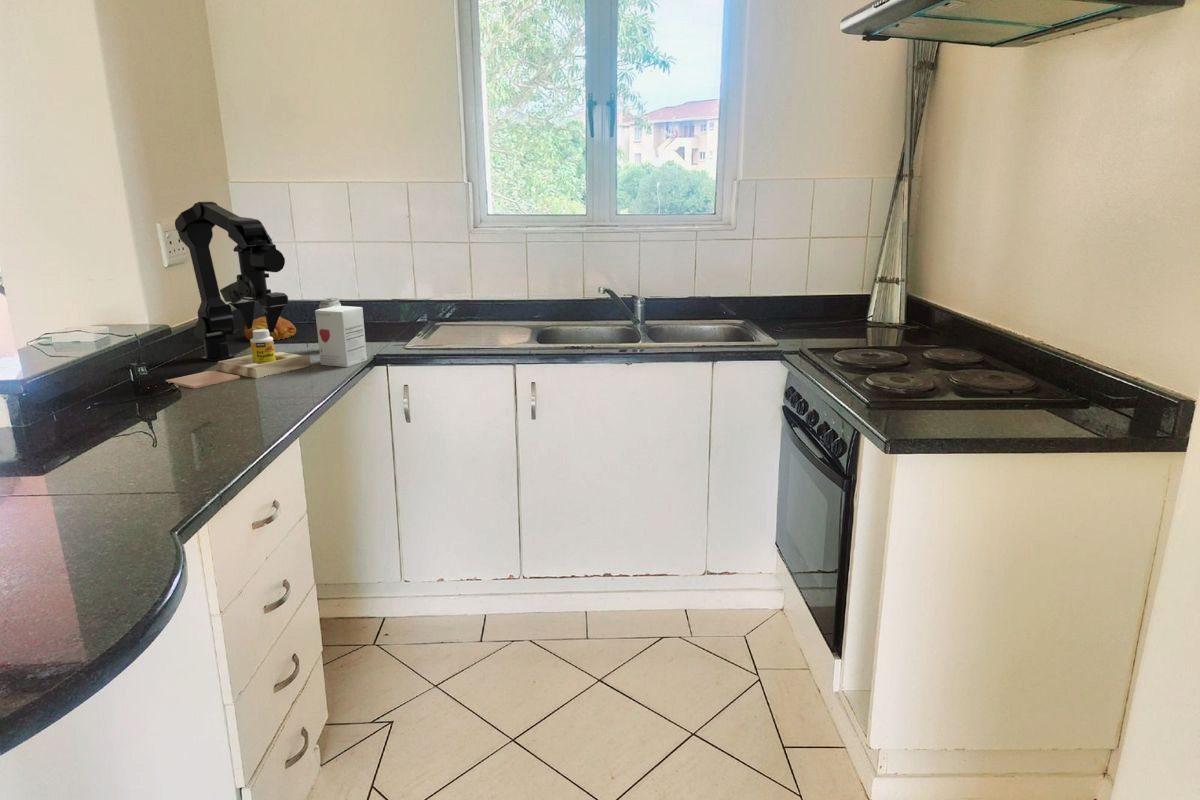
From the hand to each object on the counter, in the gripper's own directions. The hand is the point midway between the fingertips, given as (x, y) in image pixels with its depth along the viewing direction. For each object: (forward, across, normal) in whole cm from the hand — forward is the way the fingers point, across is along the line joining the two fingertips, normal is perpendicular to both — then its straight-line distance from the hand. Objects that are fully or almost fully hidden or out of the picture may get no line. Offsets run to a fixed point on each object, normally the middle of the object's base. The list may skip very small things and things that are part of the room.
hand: (260, 330), depth 200 cm
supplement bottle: (+10, 0, 0) cm, 10 cm away
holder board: (+10, 0, 0) cm, 10 cm away
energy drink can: (+10, -3, +25) cm, 27 cm away
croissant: (+11, -37, +28) cm, 48 cm away
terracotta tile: (+10, -2, -16) cm, 19 cm away
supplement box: (+10, +13, +15) cm, 23 cm away
